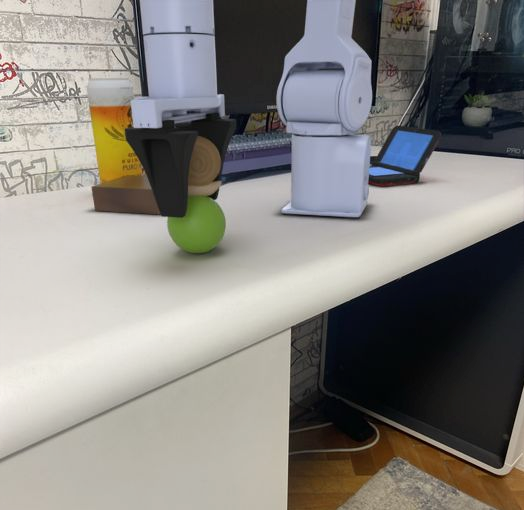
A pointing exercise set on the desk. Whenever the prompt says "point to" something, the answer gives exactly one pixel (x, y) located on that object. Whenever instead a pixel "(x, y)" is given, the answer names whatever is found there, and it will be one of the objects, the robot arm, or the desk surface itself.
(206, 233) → the snail figurine
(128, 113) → the glass of beer
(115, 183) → the walnut block
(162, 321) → the desk surface
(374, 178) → the handheld console
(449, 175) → the desk surface
